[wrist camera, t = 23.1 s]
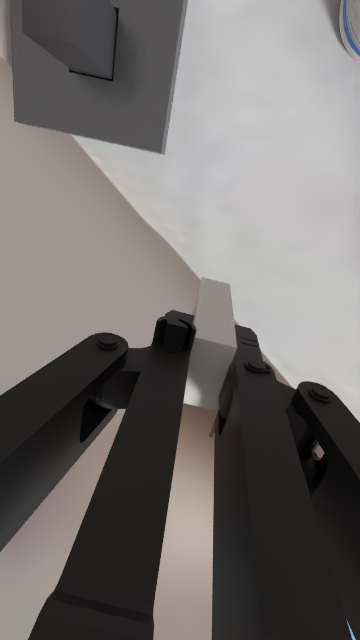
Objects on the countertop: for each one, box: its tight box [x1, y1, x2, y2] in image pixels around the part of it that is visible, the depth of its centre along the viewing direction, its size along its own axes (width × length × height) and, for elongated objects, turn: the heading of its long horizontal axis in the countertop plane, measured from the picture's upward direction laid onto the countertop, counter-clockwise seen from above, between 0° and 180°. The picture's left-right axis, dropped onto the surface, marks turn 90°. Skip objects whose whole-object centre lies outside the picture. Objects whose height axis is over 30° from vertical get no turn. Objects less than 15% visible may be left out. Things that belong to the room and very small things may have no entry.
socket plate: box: [10, 0, 188, 154], centre depth 30 cm, size 16×16×3 cm
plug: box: [22, 0, 117, 80], centre depth 26 cm, size 4×5×11 cm
